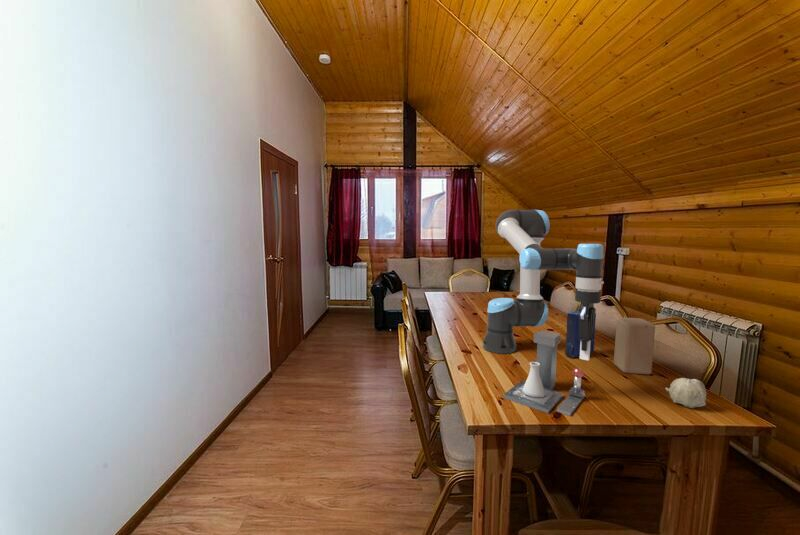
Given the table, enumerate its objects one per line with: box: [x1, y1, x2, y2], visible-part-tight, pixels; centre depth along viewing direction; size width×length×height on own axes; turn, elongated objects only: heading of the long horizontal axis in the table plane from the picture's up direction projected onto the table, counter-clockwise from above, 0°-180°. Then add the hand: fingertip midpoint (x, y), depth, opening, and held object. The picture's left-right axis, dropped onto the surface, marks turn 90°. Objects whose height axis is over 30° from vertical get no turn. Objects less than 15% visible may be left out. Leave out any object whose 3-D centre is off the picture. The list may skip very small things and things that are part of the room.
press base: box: [503, 330, 586, 417], centre depth 110 cm, size 19×20×19 cm
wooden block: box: [613, 316, 656, 375], centre depth 133 cm, size 10×10×20 cm
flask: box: [522, 361, 545, 397], centre depth 110 cm, size 7×7×10 cm
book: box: [564, 310, 597, 358], centre depth 148 cm, size 14×5×20 cm, turn 115°
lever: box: [568, 367, 585, 397], centre depth 110 cm, size 4×4×9 cm
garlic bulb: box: [665, 377, 707, 409], centre depth 105 cm, size 9×8×10 cm
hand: (584, 359), depth 114 cm, fingers closed
